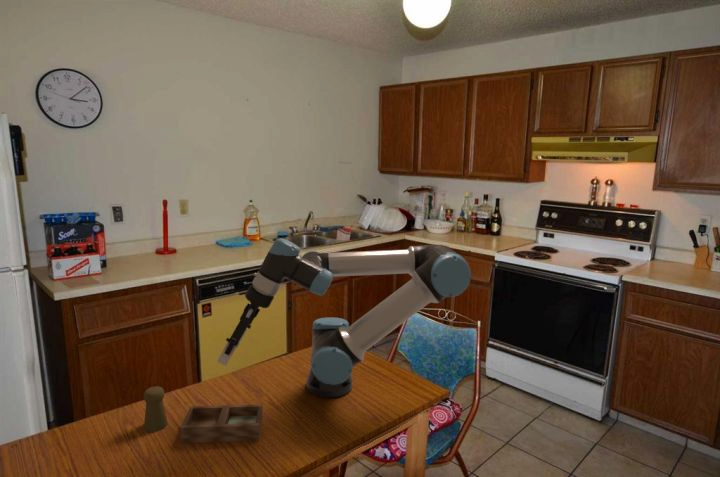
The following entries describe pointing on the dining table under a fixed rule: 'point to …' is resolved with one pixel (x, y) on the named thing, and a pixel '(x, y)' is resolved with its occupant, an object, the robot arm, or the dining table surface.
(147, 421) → the cork
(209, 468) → the dining table surface
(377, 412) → the dining table surface
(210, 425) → the stand
